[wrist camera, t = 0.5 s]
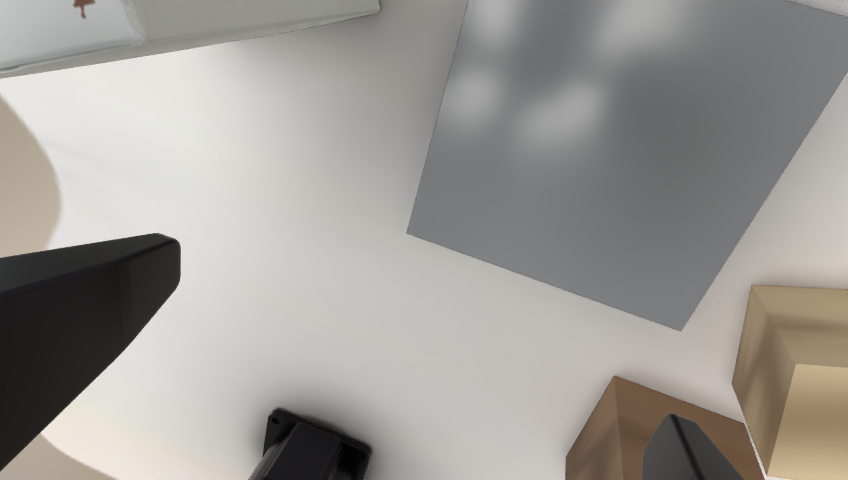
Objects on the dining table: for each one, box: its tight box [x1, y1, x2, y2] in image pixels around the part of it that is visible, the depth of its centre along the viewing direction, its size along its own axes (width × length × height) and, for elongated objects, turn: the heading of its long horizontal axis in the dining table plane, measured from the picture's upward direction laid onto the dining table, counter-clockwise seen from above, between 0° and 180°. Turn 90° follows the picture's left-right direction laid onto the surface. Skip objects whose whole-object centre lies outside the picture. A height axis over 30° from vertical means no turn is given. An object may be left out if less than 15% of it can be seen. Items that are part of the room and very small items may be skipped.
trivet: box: [407, 0, 848, 331], centre depth 19 cm, size 12×12×1 cm
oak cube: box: [732, 285, 848, 480], centre depth 19 cm, size 5×5×5 cm
